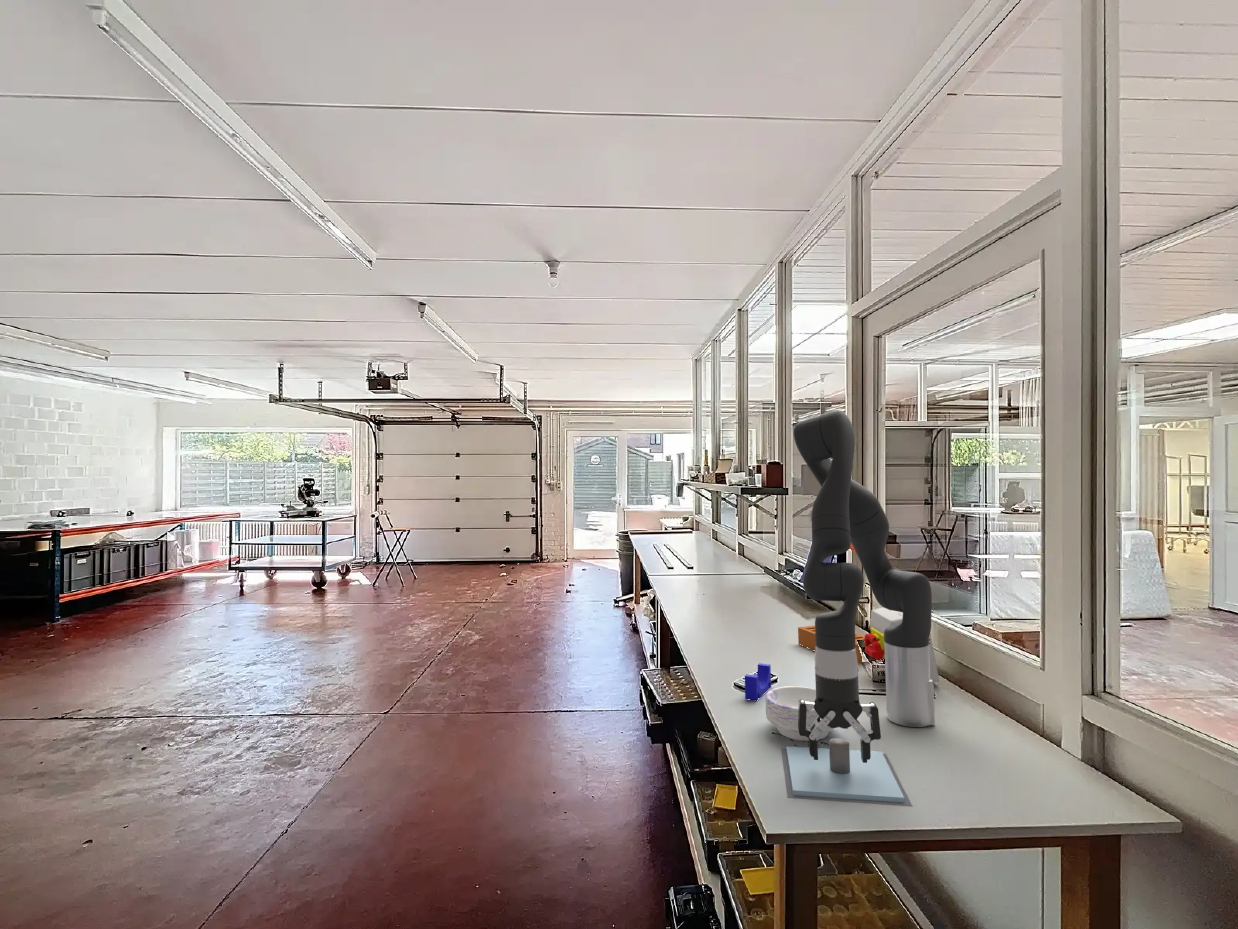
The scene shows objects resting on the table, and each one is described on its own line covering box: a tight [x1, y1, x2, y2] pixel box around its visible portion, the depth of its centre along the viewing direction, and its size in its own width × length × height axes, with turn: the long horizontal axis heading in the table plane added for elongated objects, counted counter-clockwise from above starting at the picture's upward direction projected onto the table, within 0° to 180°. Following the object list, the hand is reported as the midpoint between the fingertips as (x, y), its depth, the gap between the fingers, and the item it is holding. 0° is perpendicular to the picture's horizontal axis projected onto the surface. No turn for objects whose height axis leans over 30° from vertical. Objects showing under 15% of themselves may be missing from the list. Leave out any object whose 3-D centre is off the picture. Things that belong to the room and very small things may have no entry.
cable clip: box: [744, 662, 772, 702], centre depth 163 cm, size 12×4×6 cm, turn 150°
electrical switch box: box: [864, 607, 940, 683], centre depth 171 cm, size 15×15×20 cm
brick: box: [797, 625, 865, 664], centre depth 197 cm, size 25×12×6 cm, turn 17°
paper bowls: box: [765, 685, 836, 742], centre depth 136 cm, size 15×15×8 cm
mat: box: [780, 747, 913, 807], centre depth 116 cm, size 20×20×1 cm
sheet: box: [785, 737, 905, 803], centre depth 116 cm, size 18×18×6 cm
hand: (839, 759), depth 116 cm, fingers open, 8 cm apart
